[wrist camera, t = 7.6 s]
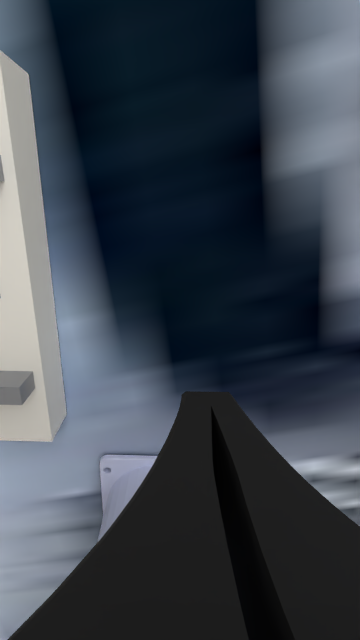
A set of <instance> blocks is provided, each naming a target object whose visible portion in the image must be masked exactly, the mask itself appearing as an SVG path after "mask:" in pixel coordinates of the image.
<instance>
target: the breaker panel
mask: <svg viewBox="0 0 360 640" xmlns="http://www.w3.org/2000/svg"><path fill="white" fill-rule="evenodd" d="M66 415H67V411H66V402H65V393H64V384H63V375H62V366H61V357H60V349H59V340H58V331H57V322H56V313H55V304H54V295H53V286H52V277H51V269H50V260H49V251H48V242H47V233H46V224H45V215H44V206H43V198H42V189H41V180H40V171H39V162H38V153H37V144H36V135H35V126H34V118H33V109H32V100H31V91H30V82H29V74H28V73H27V72H25V71H24V70H23V69H22V68H21V67H19V66H18V65H17V64H16V63H15V62H14V61H12V60H11V59H10V58H9V57H8V56H6V55H5V54H4V53H3V52H2V51H0V440H5V441H48V442H52V441H53V439H54V437H55V435H56V433H57V432H58V430H59V428H60V426H61V424H62V422H63V420H64V418H65V416H66Z"/></svg>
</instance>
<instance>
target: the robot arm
mask: <svg viewBox="0 0 360 640" xmlns="http://www.w3.org/2000/svg"><path fill="white" fill-rule="evenodd" d="M99 466H100V479H101V492H102V506H103V520H102V524H101V529H100V533H99V537H98V541H97V544H96V545H95V546H94V547H93V548H92V550H91V551H90V552H89V553H88V554H87V555H86V556H85V558H84V559H83V560H82V561H81V562H80V563H79V564H78V566H77V567H76V568H75V569H74V570H73V571H72V573H71V574H70V575H69V576H68V577H67V578H66V579H65V581H64V582H63V583H62V584H61V585H60V586H59V587H58V588H57V589H56V590H55V592H54V593H53V594H52V595H51V596H50V597H49V598H48V599H47V600H46V601H45V602H44V603H43V604H42V605H41V606H40V607H39V608H38V609H37V610H36V611H35V612H34V613H33V614H32V615H31V616H30V617H29V618H28V619H27V620H26V621H25V622H24V623H23V624H22V625H21V626H20V628H19V629H18V630H17V631H16V632H15V633H14V634H13V635H12V636H11V637H10V638H9V639H8V640H360V526H358V525H357V524H356V523H355V522H353V521H352V520H351V519H349V518H348V517H347V516H346V515H345V514H343V513H342V512H341V511H340V510H339V509H337V508H336V507H335V506H334V505H333V504H331V503H330V502H329V501H328V500H327V499H326V498H325V497H324V496H322V495H321V494H320V493H319V492H318V491H317V490H316V489H315V488H314V487H312V486H311V485H310V484H309V483H308V482H307V481H306V480H305V479H304V478H303V477H302V476H301V475H300V474H299V473H298V472H297V471H296V470H295V469H294V468H293V467H292V466H291V465H290V464H289V463H288V462H287V461H286V460H285V459H284V458H283V457H282V456H281V455H280V454H279V453H278V452H277V451H276V449H275V448H274V447H273V446H272V445H271V444H270V443H269V442H268V440H267V439H266V438H265V437H264V436H263V435H262V433H261V432H260V431H259V430H258V429H257V428H256V426H255V425H254V424H253V423H252V421H251V420H250V419H249V418H248V416H247V415H246V414H245V413H244V411H243V410H242V409H241V407H240V406H239V405H238V403H237V402H236V401H235V399H234V398H233V397H232V395H231V394H230V393H229V392H185V393H184V394H182V399H181V404H180V408H179V411H178V414H177V417H176V419H175V422H174V424H173V426H172V429H171V431H170V433H169V435H168V438H167V440H166V442H165V444H164V445H163V447H162V449H161V451H160V453H159V455H158V456H141V455H104V456H102V457H101V459H100V463H99ZM106 467H108V468H110V469H107V468H106Z"/></svg>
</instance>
